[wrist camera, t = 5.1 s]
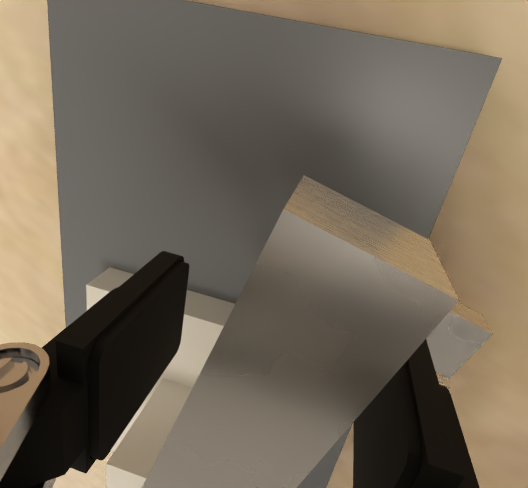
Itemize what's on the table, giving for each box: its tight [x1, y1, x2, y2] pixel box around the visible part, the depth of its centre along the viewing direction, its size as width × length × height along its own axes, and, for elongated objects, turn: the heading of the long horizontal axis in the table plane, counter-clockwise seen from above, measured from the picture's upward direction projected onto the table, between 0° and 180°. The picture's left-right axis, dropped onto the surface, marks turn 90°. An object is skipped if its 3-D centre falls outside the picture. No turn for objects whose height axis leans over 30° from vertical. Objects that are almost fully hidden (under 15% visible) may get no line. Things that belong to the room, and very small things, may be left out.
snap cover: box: [86, 267, 235, 488], centre depth 19 cm, size 12×12×7 cm
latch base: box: [47, 0, 502, 488], centre depth 20 cm, size 26×18×2 cm
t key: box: [142, 175, 493, 488], centre depth 11 cm, size 8×9×11 cm
